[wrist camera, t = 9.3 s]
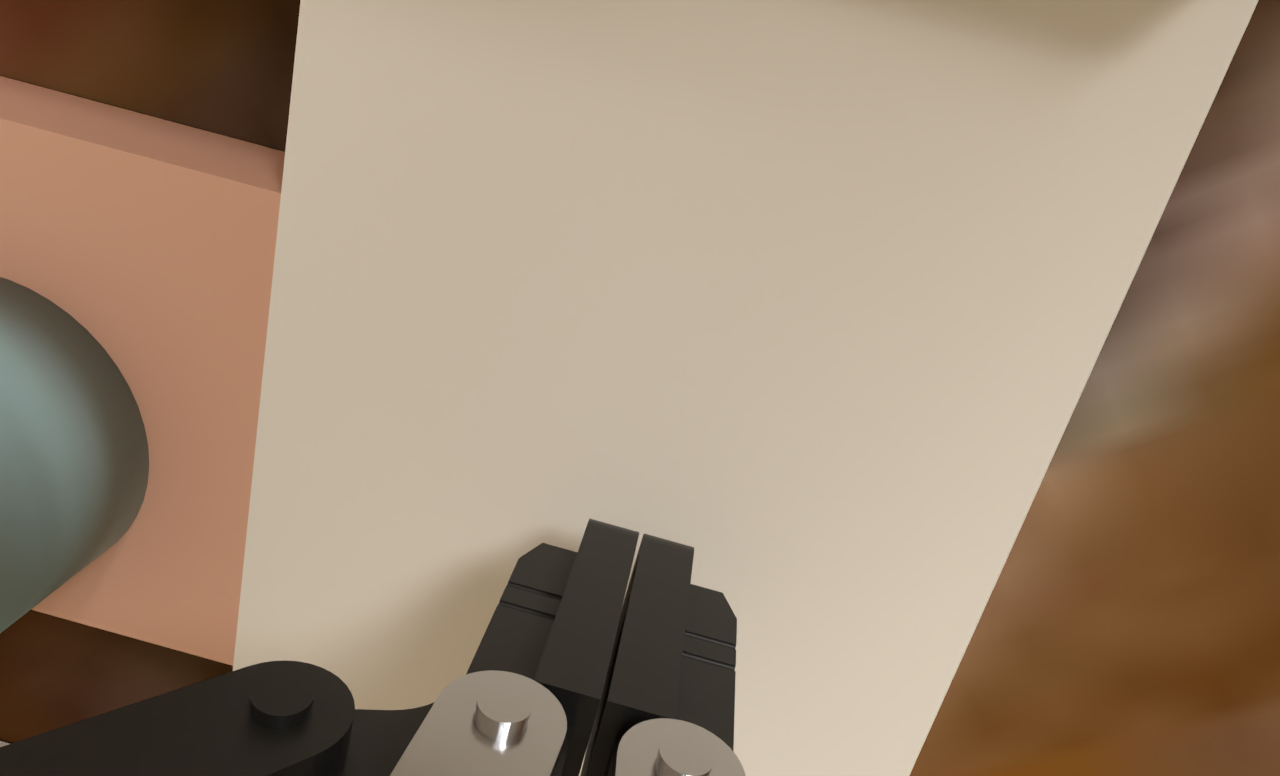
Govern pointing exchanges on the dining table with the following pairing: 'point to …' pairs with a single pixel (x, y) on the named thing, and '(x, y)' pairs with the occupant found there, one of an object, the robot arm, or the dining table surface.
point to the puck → (60, 450)
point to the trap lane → (616, 323)
